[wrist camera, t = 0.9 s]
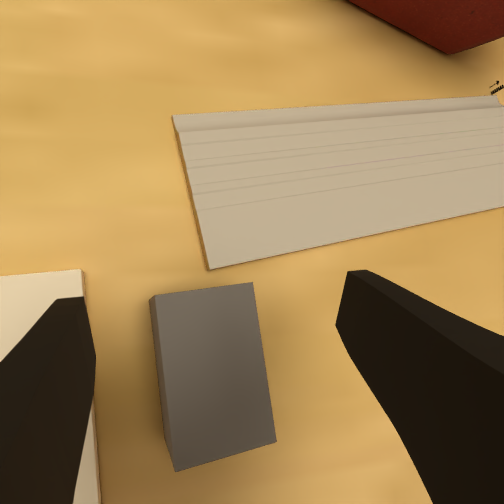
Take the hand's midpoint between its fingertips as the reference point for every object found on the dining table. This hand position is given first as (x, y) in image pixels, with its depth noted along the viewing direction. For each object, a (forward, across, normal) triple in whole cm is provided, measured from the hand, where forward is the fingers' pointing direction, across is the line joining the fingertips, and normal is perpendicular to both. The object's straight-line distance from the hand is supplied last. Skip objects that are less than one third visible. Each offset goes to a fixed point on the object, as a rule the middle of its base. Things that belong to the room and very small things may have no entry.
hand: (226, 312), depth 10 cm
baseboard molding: (+18, -16, +1) cm, 24 cm away
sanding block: (+9, 0, +10) cm, 14 cm away
